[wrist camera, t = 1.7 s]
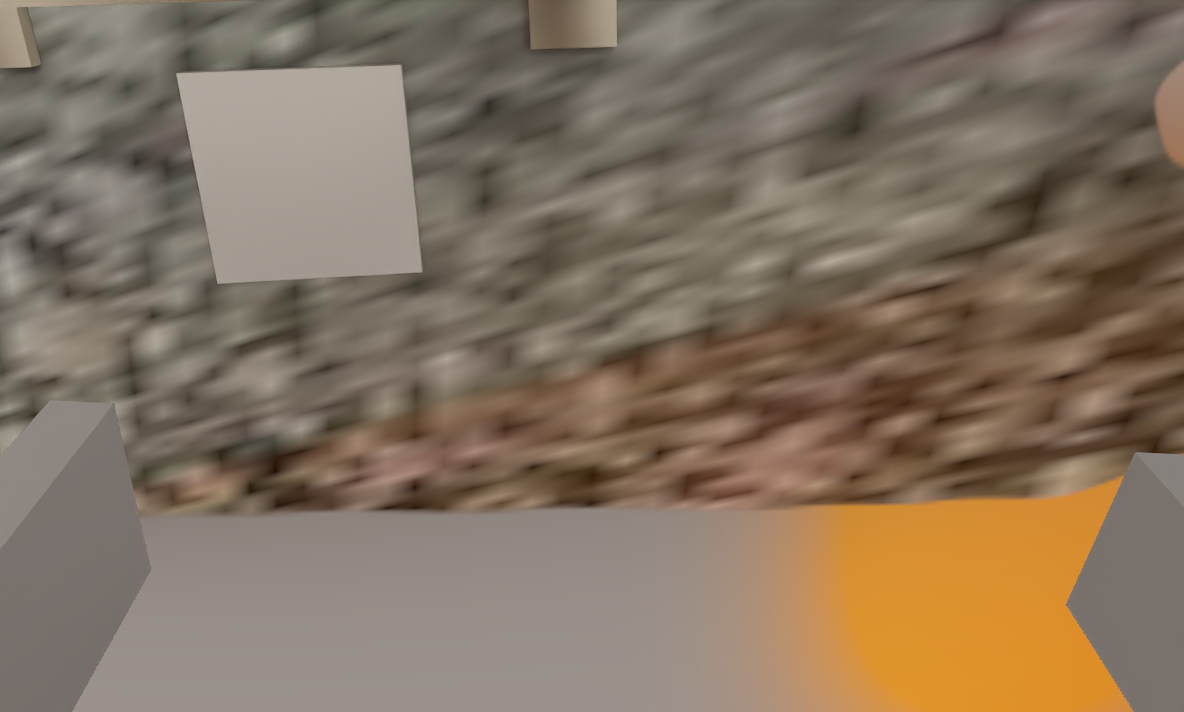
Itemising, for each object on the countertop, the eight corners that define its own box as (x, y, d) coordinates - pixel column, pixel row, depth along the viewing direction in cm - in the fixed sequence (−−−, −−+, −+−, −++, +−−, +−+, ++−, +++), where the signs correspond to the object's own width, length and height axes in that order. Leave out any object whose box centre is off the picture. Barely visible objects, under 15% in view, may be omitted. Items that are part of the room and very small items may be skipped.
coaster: (402, 63, 43) (401, 65, 42) (423, 267, 47) (422, 272, 46) (181, 71, 42) (176, 73, 41) (221, 278, 46) (217, 283, 45)
